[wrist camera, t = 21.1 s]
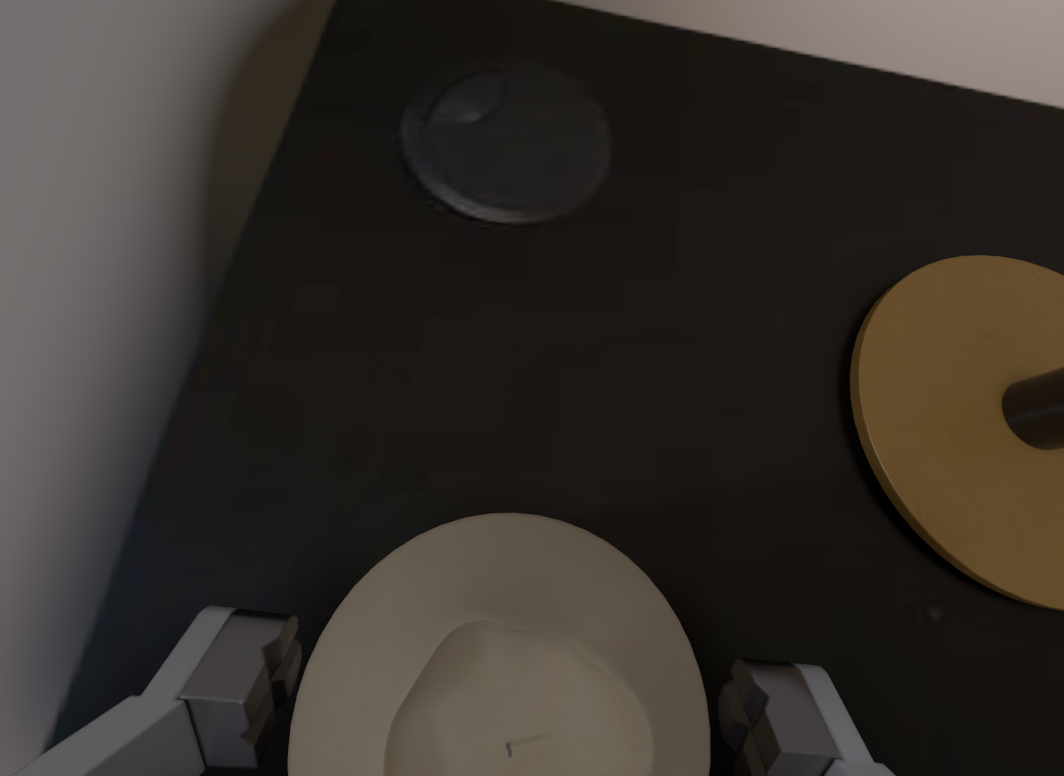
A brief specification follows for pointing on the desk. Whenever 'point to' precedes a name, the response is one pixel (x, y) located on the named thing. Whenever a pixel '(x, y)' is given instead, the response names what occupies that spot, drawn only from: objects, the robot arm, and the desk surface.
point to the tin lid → (971, 417)
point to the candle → (502, 663)
